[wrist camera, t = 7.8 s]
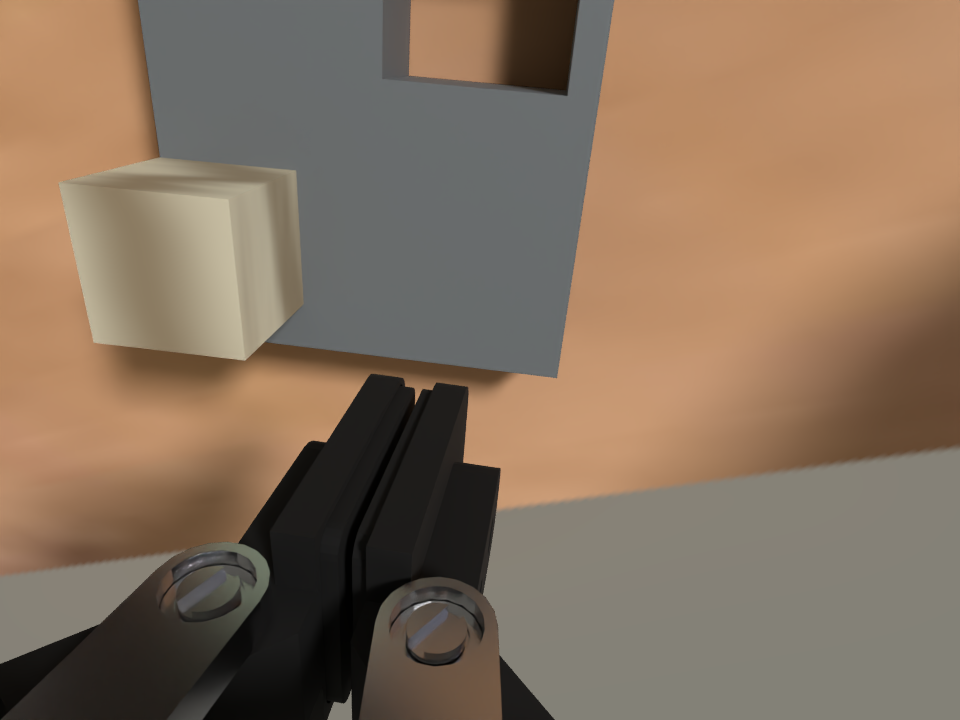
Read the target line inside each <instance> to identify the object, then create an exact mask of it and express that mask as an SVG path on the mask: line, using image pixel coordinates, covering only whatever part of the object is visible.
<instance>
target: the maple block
mask: <svg viewBox="0 0 960 720" xmlns="http://www.w3.org/2000/svg"><path fill="white" fill-rule="evenodd" d="M59 187H60V192H61V196H62V201H63V205H64V210H65V214H66V219H67V223H68V228H69V232H70V237H71V241H72V246H73V250H74V255H75V259H76V264H77V269H78V273H79V278H80V282H81V287H82V291H83V296H84V300H85V305H86V309H87V314H88V318H89V323H90V327H91V332H92V336H93V341H94V343H101V344H110V345H118V346H126V347H135V348H143V349H152V350H160V351H169V352H177V353H186V354H194V355H203V356H211V357H220V358H228V359H236V360H246V359H247V358H248V357H250V356H251V355H252V354H253V353H254V352H255V351H256V350H257V349H258V348H259V347H260V346H261V345H262V344H263V343H264V342H265V341H266V340H267V339H268V338H269V337H270V336H271V335H272V334H273V333H274V332H275V331H276V330H278V329H279V328H280V327H281V326H282V325H283V324H284V323H285V322H286V321H287V320H288V319H289V318H290V317H291V316H292V315H293V314H294V313H295V312H296V311H297V310H298V309H299V308H300V307H301V306H302V305H303V304H304V301H303V283H302V265H301V248H300V230H299V212H298V194H297V176H296V170H286V169H275V168H265V167H254V166H244V165H233V164H223V163H213V162H202V161H192V160H181V159H171V158H160V157H159V158H155V159H151V160H147V161H143V162H139V163H135V164H131V165H127V166H123V167H119V168H115V169H111V170H107V171H103V172H99V173H95V174H91V175H87V176H83V177H79V178H75V179H71V180H67V181H63V182H59Z"/></svg>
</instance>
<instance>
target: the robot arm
mask: <svg viewBox="0 0 960 720" xmlns="http://www.w3.org/2000/svg"><path fill="white" fill-rule="evenodd" d="M467 407H468V387H465V386H458V385H450V384H443V383H436V384H435V386H434V388H433V390H426V389H423V390H422V391H421V394H420V396H419V398H418V400H417V402H416V405H415V389H414V388H411V387H405V382H404V379H403V378H399V377H392V376H385V375H377V374H371V375H370V376H369V377H368V378H367V380H366V382H365V383H364V385H363V386H362V388H361V389H360V391H359V392H358V394H357V396H356V397H355V399H354V400H353V402H352V403H351V405H350V406H349V408H348V410H347V411H346V413H345V414H344V416H343V417H342V419H341V421H340V422H339V424H338V425H337V427H336V428H335V430H334V431H333V433H332V435H331V436H330V438H329V439H328V441H327V442H319V441H311V442H309V443H308V444H307V445H306V446H305V447H304V448H303V450H302V451H301V453H300V454H299V456H298V457H297V459H296V460H295V461H294V463H293V464H292V466H291V467H290V469H289V470H288V472H287V473H286V475H285V476H284V477H283V479H282V480H281V482H280V483H279V485H278V486H277V488H276V489H275V491H274V492H273V493H272V495H271V496H270V498H269V499H268V501H267V502H266V504H265V505H264V506H263V508H262V509H261V511H260V512H259V514H258V515H257V517H256V518H255V520H254V521H253V522H252V524H251V525H250V527H249V528H248V530H247V531H246V533H245V534H244V536H243V537H242V538H241V540H240V541H239V543H238V544H237V543H231V542H220V543H208V544H205V545H201V546H197V547H193V548H190V549H188V550H186V551H184V552H182V553H180V554H178V555H176V556H174V557H172V558H171V559H169V560H168V561H167V562H166V563H164V564H163V565H162V566H160V567H159V568H158V569H157V570H156V571H155V572H154V573H153V574H151V575H150V576H149V577H148V578H147V579H146V580H145V581H144V582H143V583H142V584H141V585H140V586H139V587H138V588H137V589H136V590H135V591H134V592H133V593H132V594H131V595H130V596H129V597H128V598H127V599H126V600H124V601H123V602H122V603H121V604H120V605H119V606H118V607H117V608H116V609H115V610H114V611H113V612H112V613H111V614H110V615H109V616H108V617H107V618H106V619H105V620H104V621H103V622H102V623H101V624H99V625H97V626H94V627H92V628H89V629H87V630H84V631H82V632H79V633H77V634H74V635H72V636H69V637H67V638H64V639H62V640H59V641H57V642H54V643H52V644H49V645H47V646H44V647H42V648H39V649H37V650H34V651H32V652H29V653H27V654H24V655H22V656H19V657H17V658H14V659H12V660H9V661H7V662H4V663H2V664H0V720H327V719H328V716H329V713H330V711H331V708H332V705H333V703H334V702H339V703H345V702H346V701H347V699H348V697H349V694H350V691H351V689H352V720H554V719H553V717H552V716H551V715H550V714H549V713H548V711H547V710H546V709H545V708H544V707H543V706H542V705H541V703H540V702H539V701H538V700H537V699H536V697H535V696H534V695H533V694H532V693H531V692H530V690H529V689H528V688H527V687H526V686H525V685H524V683H523V682H522V681H521V680H520V679H519V678H518V676H517V675H516V674H515V673H514V672H513V671H512V669H511V668H510V667H509V666H508V665H507V664H506V662H505V661H504V660H503V659H502V658H501V656H500V655H499V639H498V624H497V620H496V616H495V611H494V610H493V608H492V606H491V605H490V603H489V602H488V600H487V599H486V597H485V596H483V591H484V585H485V580H486V574H487V568H488V562H489V556H490V550H491V543H492V537H493V530H494V523H495V516H496V508H497V499H498V490H499V482H500V471H501V470H500V468H495V467H488V466H481V465H474V464H468V463H463V457H464V444H465V432H466V420H467Z"/></svg>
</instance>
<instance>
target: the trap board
mask: <svg viewBox="0 0 960 720" xmlns="http://www.w3.org/2000/svg"><path fill="white" fill-rule="evenodd" d="M613 4H614V0H578V3H577V11H576V19H575V26H574V34H573V42H572V50H571V57H570V65H569V73H568V81H567V88H566V90H557V89H546V88H535V87H524V86H513V85H503V84H492V83H481V82H470V81H459V80H448V79H437V78H427V77H416V76H409V44H410V6H411V0H138V5H139V12H140V19H141V26H142V33H143V40H144V47H145V54H146V61H147V68H148V75H149V83H150V90H151V97H152V104H153V111H154V118H155V125H156V132H157V139H158V146H159V153H160V158H171V159H181V160H192V161H202V162H213V163H223V164H233V165H244V166H254V167H265V168H275V169H286V170H296V176H297V194H298V212H299V230H300V248H301V265H302V283H303V301H304V304H303V305H302V306H301V307H300V308H299V309H298V310H297V311H296V312H295V313H294V314H293V315H292V316H291V317H290V318H289V319H288V320H287V321H286V322H285V323H284V324H283V325H282V326H281V327H280V328H279V329H278V330H276V331H275V332H274V333H273V334H272V335H271V336H270V337H269V338H268V339H267V340H266V341H265V342H268V343H276V344H284V345H293V346H301V347H309V348H317V349H325V350H333V351H341V352H349V353H358V354H366V355H374V356H382V357H390V358H398V359H406V360H414V361H423V362H431V363H439V364H447V365H455V366H463V367H471V368H480V369H488V370H496V371H504V372H512V373H520V374H528V375H536V376H545V377H553V378H557V374H558V367H559V361H560V354H561V348H562V341H563V334H564V328H565V321H566V315H567V308H568V301H569V295H570V288H571V282H572V275H573V268H574V262H575V255H576V249H577V242H578V235H579V229H580V222H581V216H582V209H583V202H584V196H585V189H586V183H587V176H588V169H589V163H590V156H591V150H592V143H593V136H594V130H595V123H596V117H597V110H598V103H599V97H600V90H601V84H602V77H603V70H604V64H605V57H606V51H607V44H608V37H609V31H610V24H611V18H612V11H613Z"/></svg>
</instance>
